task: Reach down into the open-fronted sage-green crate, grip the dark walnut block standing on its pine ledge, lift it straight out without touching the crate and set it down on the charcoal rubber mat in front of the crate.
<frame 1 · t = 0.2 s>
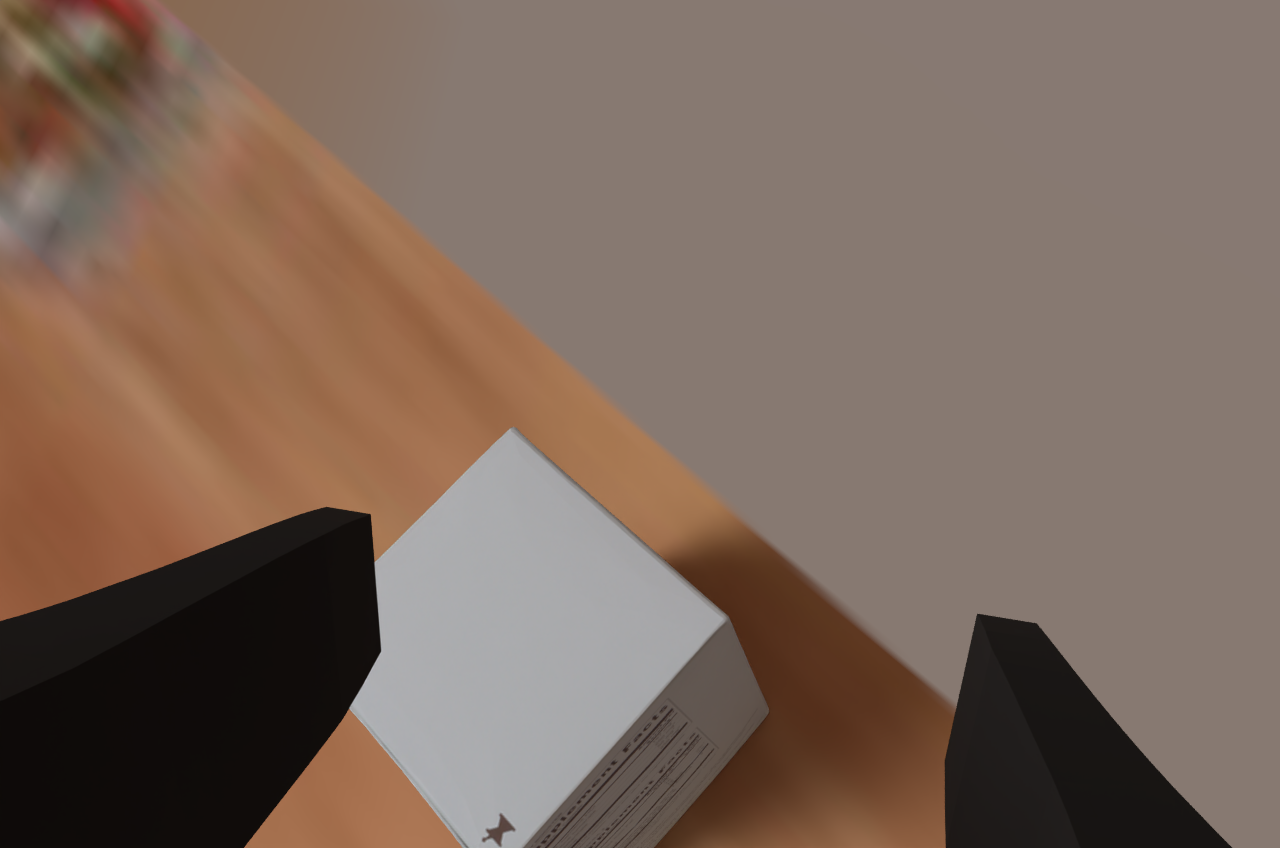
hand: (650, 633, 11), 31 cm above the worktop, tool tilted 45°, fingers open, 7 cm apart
supplement box: (623, 715, 41), on the worktop
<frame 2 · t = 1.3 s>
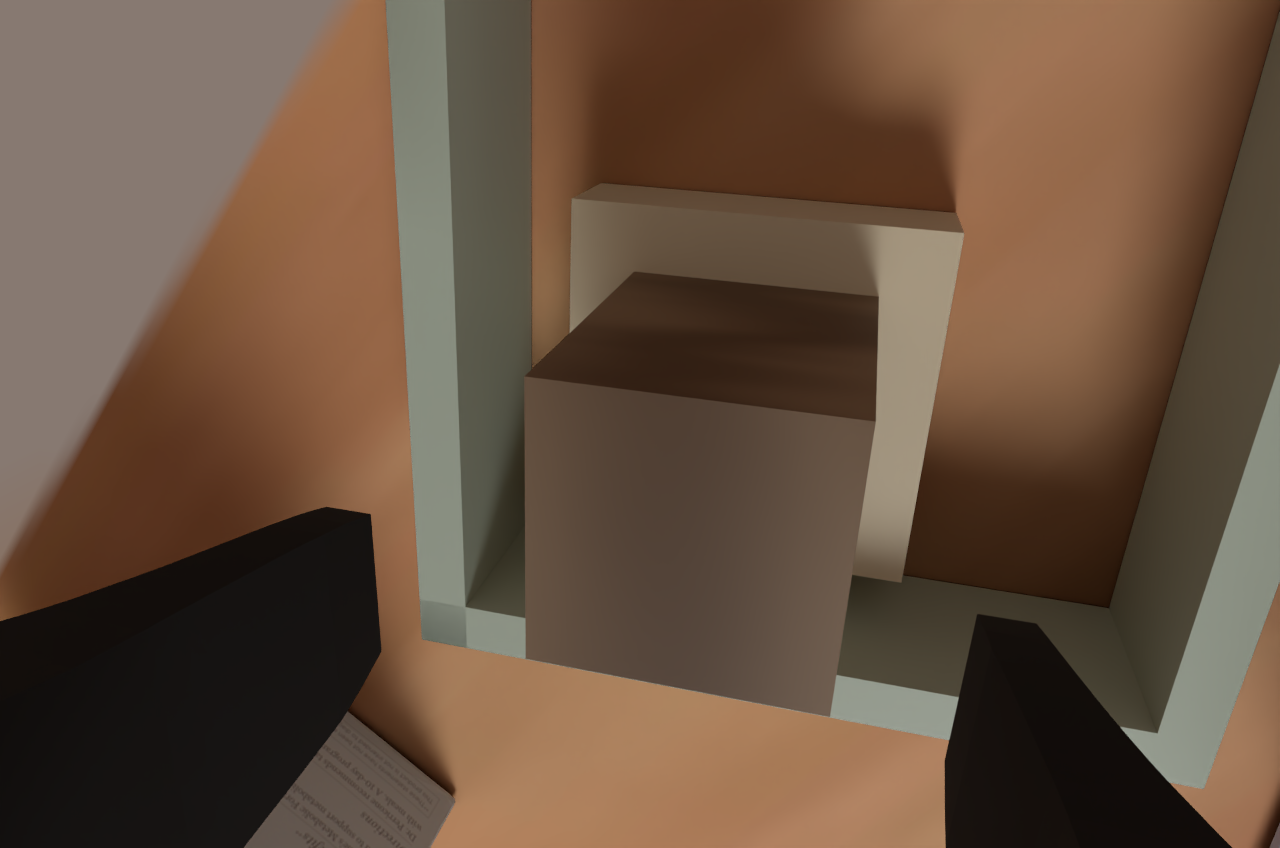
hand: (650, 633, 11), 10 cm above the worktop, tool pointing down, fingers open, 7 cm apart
supplement box: (270, 772, 29), on the worktop
crate: (833, 327, 19), on the worktop
block: (742, 397, 18), point 2 cm above the worktop, touching crate
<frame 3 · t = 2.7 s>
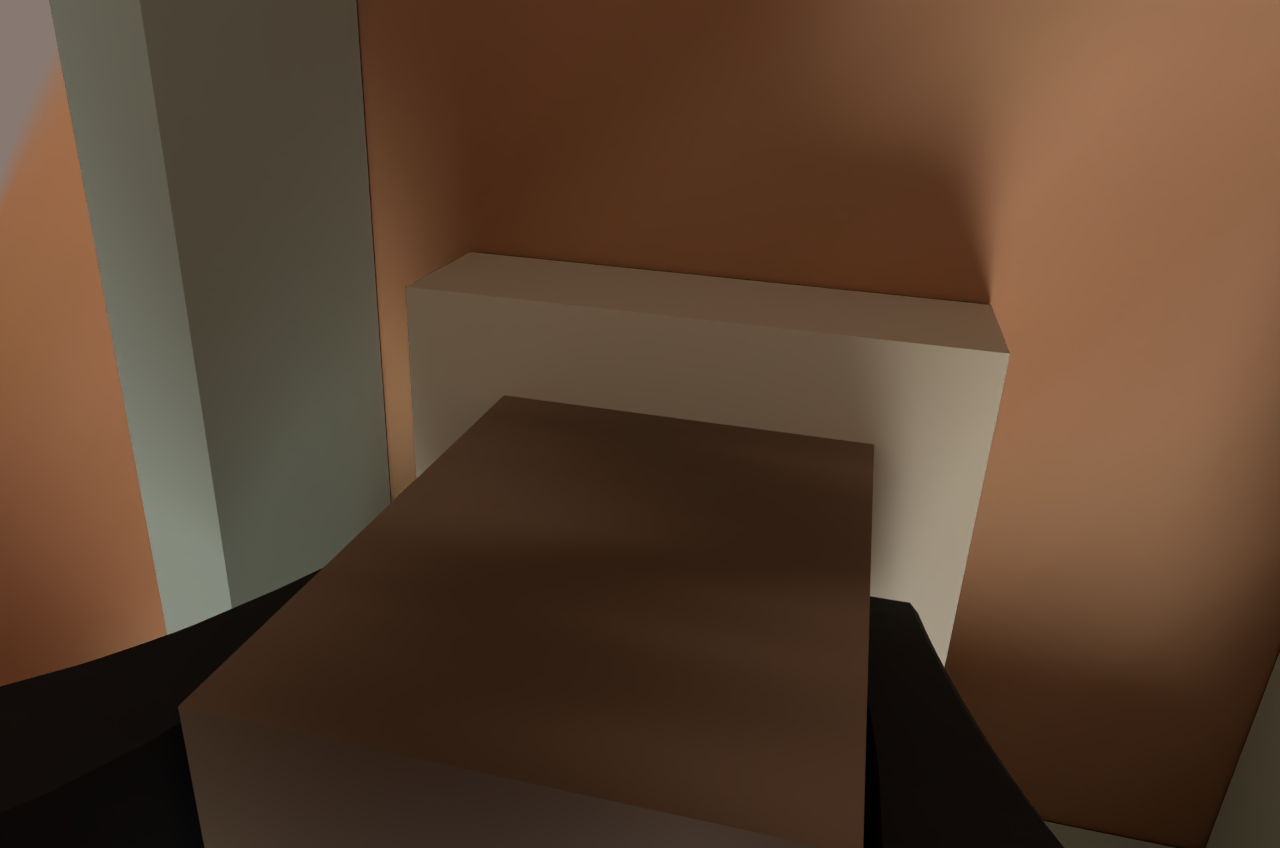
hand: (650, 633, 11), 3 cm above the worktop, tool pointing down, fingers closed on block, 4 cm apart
crate: (808, 462, 13), on the worktop
block: (670, 579, 12), point 2 cm above the worktop, touching crate, gripper
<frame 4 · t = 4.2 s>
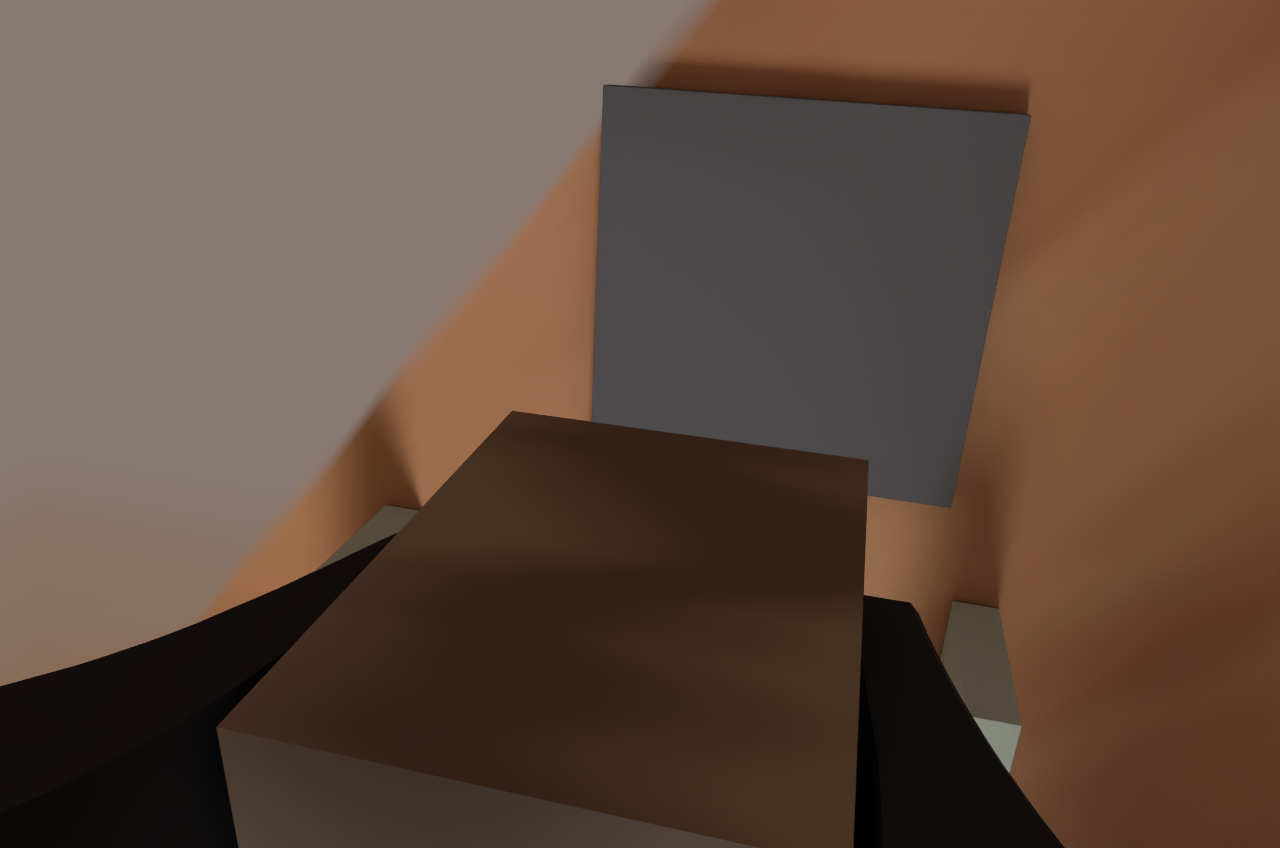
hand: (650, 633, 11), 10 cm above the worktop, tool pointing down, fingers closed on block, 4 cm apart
mat: (785, 300, 20), on the worktop
crate: (656, 763, 25), on the worktop
block: (673, 586, 13), point 9 cm above the worktop, touching gripper
when the fingers open (3 cm above the worktop, at t = 6.0 s): block stays where it is, resting on mat.
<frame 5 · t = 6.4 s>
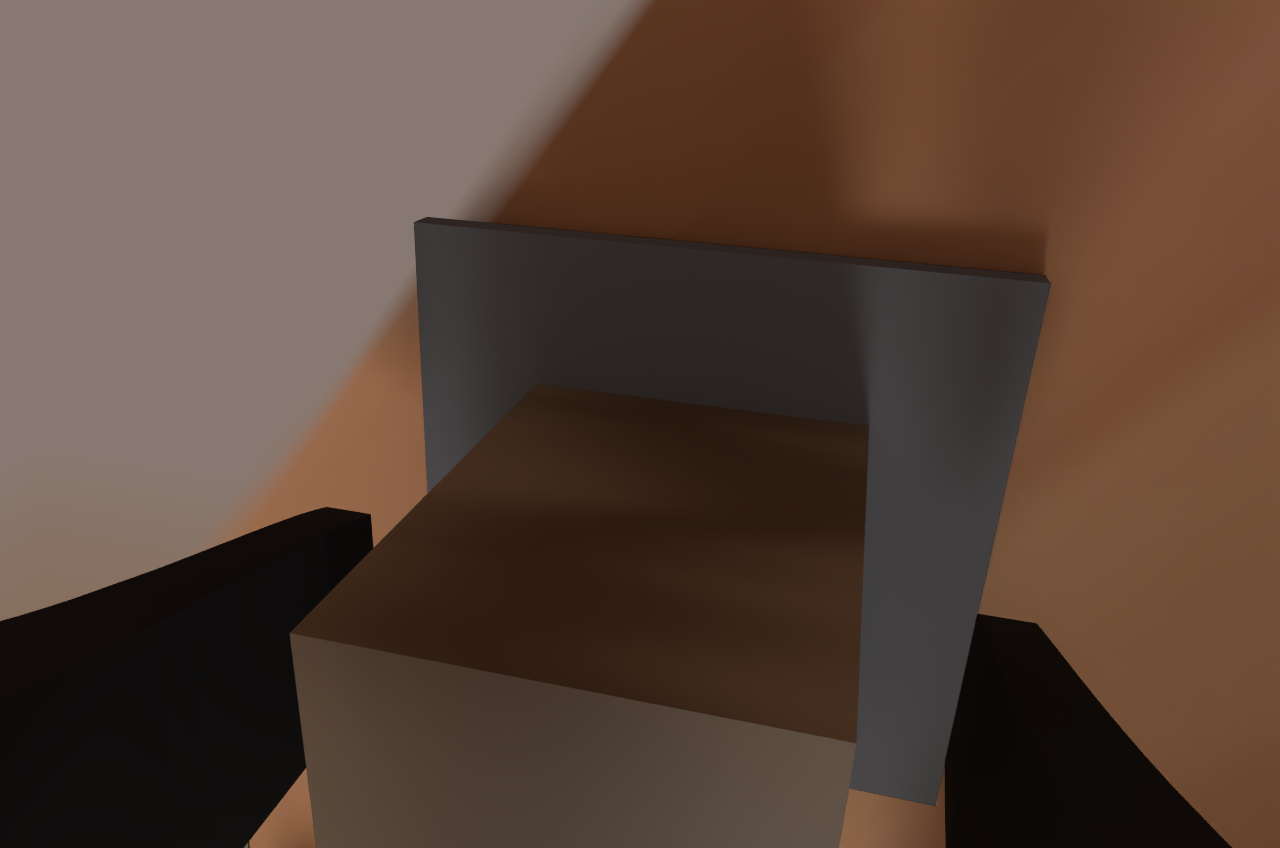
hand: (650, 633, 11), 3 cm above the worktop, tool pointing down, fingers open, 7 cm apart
mat: (695, 518, 14), on the worktop
block: (686, 550, 13), resting on mat
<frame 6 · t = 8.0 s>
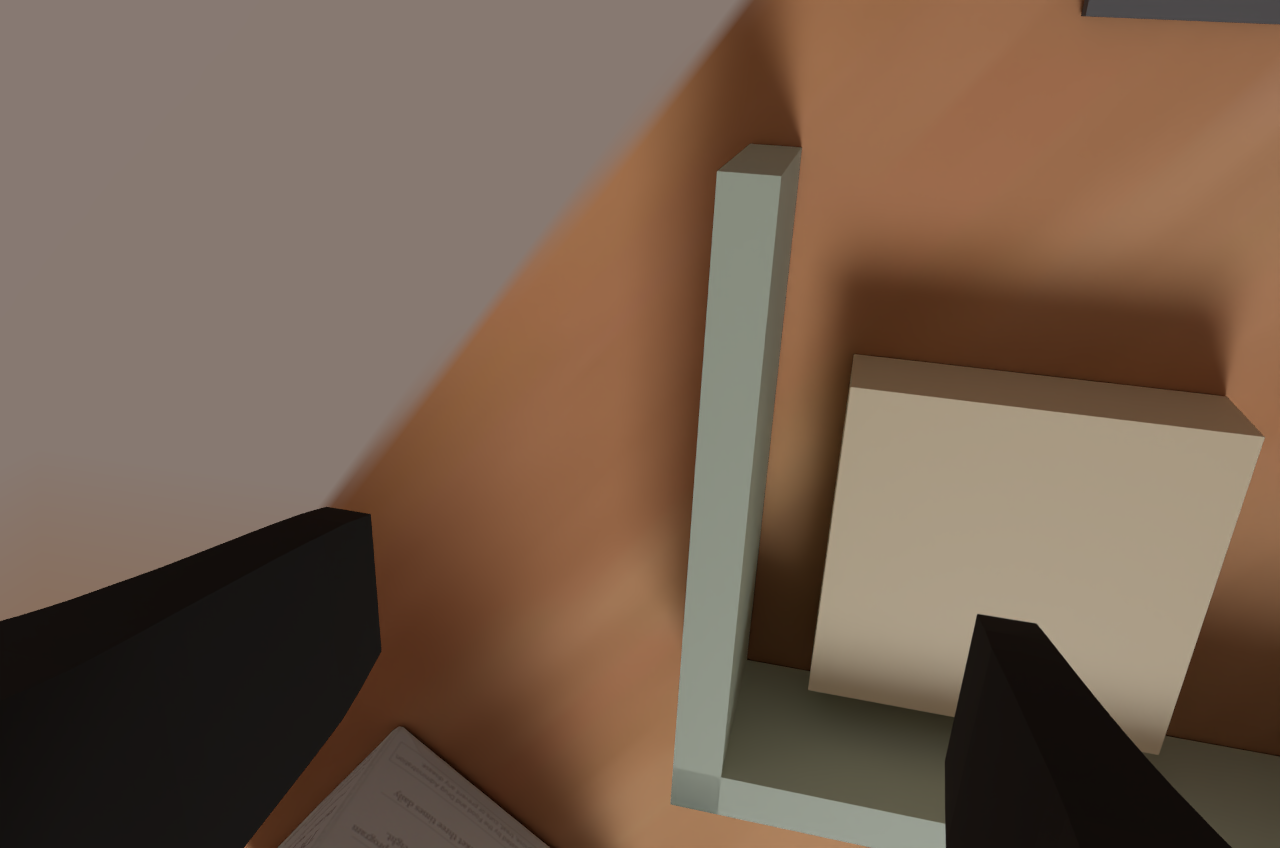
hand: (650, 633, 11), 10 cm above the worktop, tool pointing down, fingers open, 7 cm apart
crate: (1085, 497, 19), on the worktop
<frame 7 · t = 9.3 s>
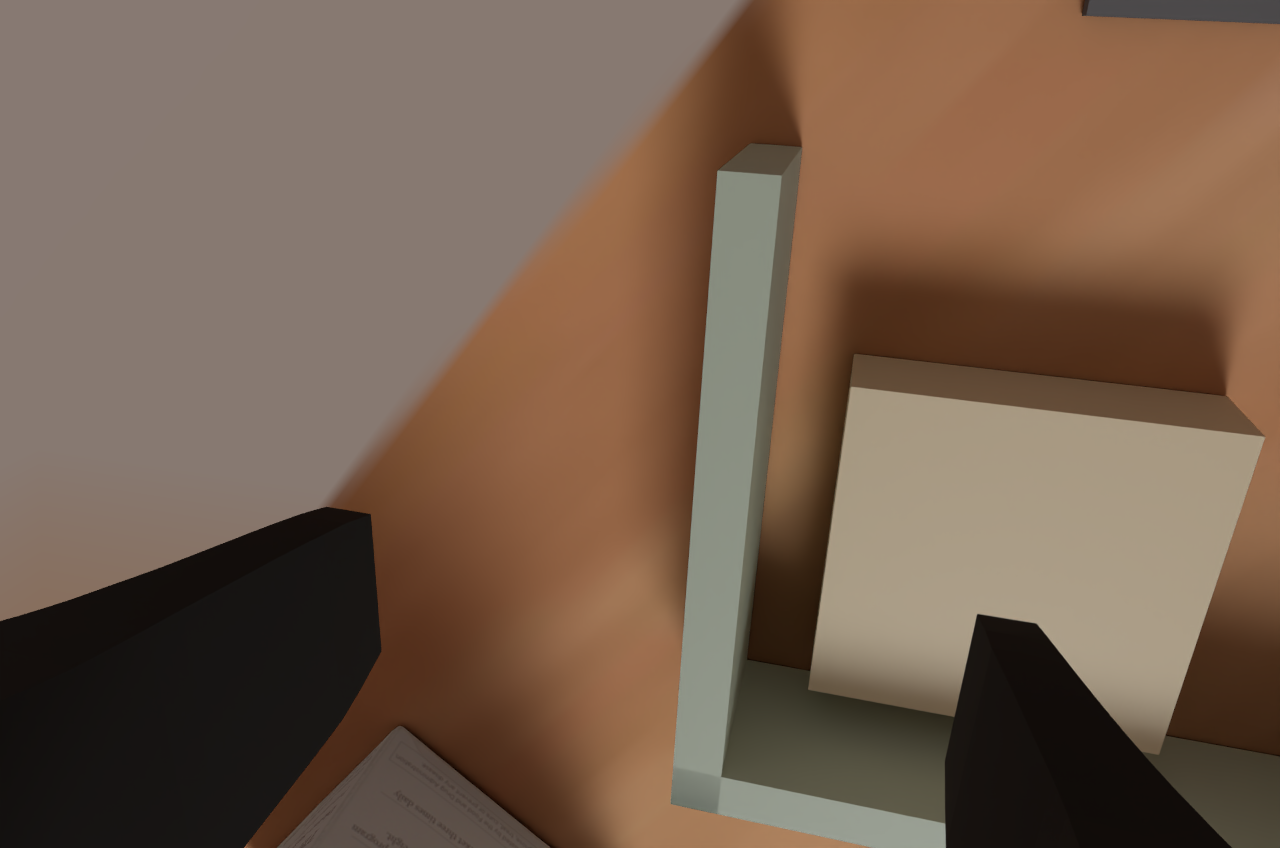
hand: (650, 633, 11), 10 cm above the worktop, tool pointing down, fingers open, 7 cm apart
crate: (1085, 497, 19), on the worktop
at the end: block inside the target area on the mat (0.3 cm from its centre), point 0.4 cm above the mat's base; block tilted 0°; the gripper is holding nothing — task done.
